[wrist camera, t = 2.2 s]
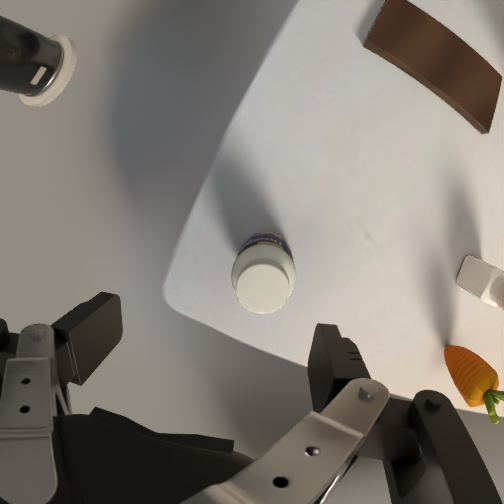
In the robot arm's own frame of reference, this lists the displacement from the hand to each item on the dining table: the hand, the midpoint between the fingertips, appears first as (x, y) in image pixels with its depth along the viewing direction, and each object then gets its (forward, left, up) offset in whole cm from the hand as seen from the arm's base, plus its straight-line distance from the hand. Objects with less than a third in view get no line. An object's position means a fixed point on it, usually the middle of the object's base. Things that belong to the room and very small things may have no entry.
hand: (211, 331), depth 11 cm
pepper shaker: (+26, +9, -20) cm, 34 cm away
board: (+10, +30, -20) cm, 37 cm away
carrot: (+30, -1, -20) cm, 37 cm away
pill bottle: (+2, -1, -20) cm, 20 cm away
